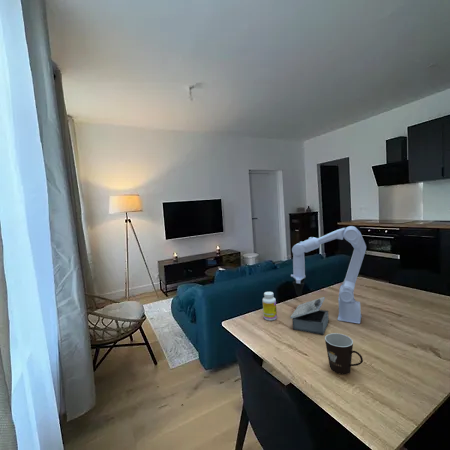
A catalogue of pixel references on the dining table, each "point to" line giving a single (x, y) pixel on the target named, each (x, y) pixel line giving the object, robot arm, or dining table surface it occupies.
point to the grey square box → (312, 322)
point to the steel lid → (308, 307)
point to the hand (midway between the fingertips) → (299, 292)
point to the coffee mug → (340, 353)
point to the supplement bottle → (269, 306)
